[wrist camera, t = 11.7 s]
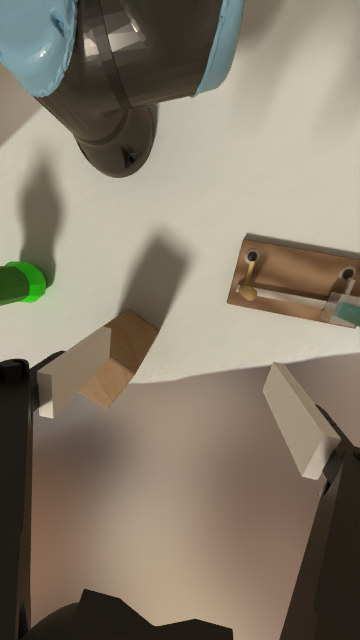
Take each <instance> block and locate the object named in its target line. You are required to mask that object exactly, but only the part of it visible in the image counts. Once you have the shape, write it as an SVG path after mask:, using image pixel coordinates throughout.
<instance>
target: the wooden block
mask: <svg viewBox="0 0 360 640" xmlns="http://www.w3.org/2000/svg"><path fill="white" fill-rule="evenodd" d="M103 327H107V328H111V340H110V355H109V359H108V360H107V361H106V362H105V363H104V364H103V365H102V366H101V368H100V369H99V370H98V371H97V372H96V373H95V374H94V375H93V376H92V377H91V378H90V379H89V381H88V382H87V383H86V384H85V385H84V386H83V387H82V388H81V389H80V390H79V391H78V392H80V393H81V394H83V395H84V396H86V397H87V398H89V399H90V400H92V401H93V402H95V403H96V404H98V405H100V406H101V407H103V408H104V409H108V408H109V407H110V406H111V404H112V403H113V402H114V401H115V399H116V398H117V397H118V396H119V394H120V393H121V392H122V390H123V389H124V388H125V387H126V385H127V384H128V383H129V382H130V380H131V379H132V378H133V376H134V375H135V374H136V372H137V370H138V368H139V367H140V365H141V363H142V361H143V360H144V358H145V356H146V354H147V353H148V351H149V349H150V347H151V346H152V344H153V342H154V340H155V339H156V337H157V335H158V333H159V331H158V330H157V329H156V328H154V327H153V326H151V325H150V324H149V323H147V322H146V321H144V320H143V319H142V318H140V317H139V316H138V315H136V314H135V313H133V312H132V311H131V310H129V309H127V310H126V311H124V312H123V313H122V314H120V315H119V316H117V317H116V318H114V319H113V320H111V321H110V322H109V323H107V324H106V325H104V326H103Z"/></svg>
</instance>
